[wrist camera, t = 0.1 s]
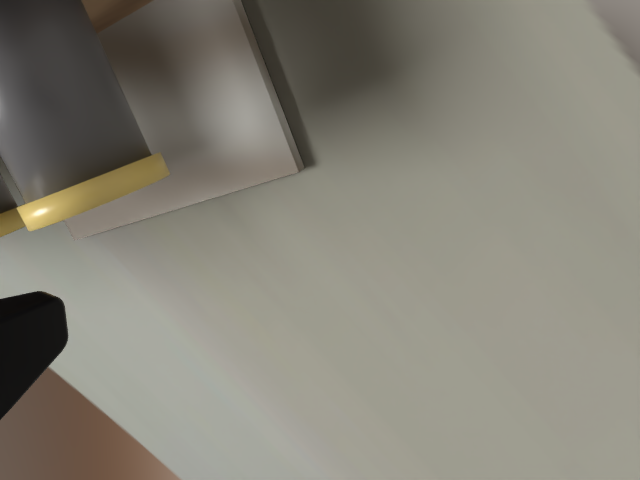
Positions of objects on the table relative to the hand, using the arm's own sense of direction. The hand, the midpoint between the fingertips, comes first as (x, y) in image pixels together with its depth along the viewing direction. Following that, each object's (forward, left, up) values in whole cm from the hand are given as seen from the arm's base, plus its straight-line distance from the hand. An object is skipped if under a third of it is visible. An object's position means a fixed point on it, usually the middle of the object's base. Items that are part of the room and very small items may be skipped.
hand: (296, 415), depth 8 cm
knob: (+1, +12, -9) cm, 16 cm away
